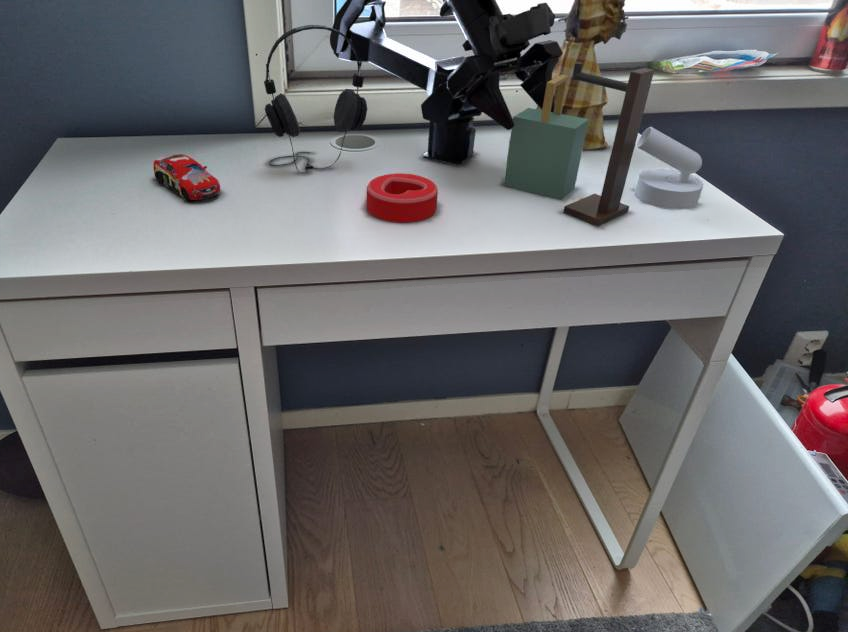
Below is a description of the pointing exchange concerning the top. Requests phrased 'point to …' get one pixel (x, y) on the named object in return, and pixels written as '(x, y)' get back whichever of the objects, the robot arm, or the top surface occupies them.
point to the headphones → (347, 107)
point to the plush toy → (588, 61)
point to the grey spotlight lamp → (669, 173)
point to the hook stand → (615, 147)
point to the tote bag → (546, 147)
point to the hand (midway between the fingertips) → (532, 121)
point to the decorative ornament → (401, 198)
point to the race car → (185, 177)
